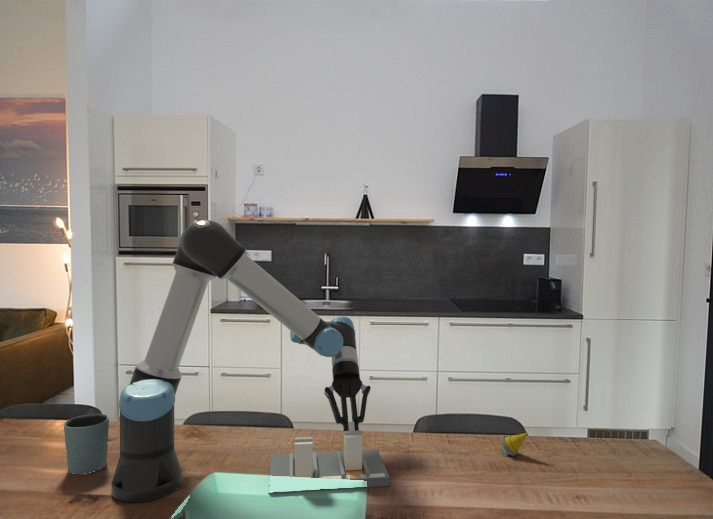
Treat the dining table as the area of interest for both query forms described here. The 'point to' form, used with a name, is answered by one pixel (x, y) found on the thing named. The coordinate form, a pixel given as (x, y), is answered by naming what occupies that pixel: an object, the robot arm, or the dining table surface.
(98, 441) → the teal cup
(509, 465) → the dining table surface
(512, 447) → the yellow spinning top
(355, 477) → the switch bank
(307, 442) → the tab left
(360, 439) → the tab right
